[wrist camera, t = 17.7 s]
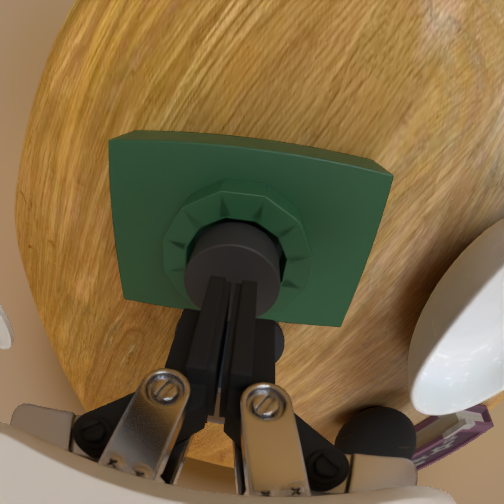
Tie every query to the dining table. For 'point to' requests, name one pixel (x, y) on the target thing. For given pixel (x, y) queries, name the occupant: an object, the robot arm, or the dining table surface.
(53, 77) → the dining table surface
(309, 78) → the dining table surface
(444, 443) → the book
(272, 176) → the green base stand
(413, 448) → the speaker
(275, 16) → the dining table surface
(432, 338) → the serving bowl
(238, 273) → the dark grey short cylinder
